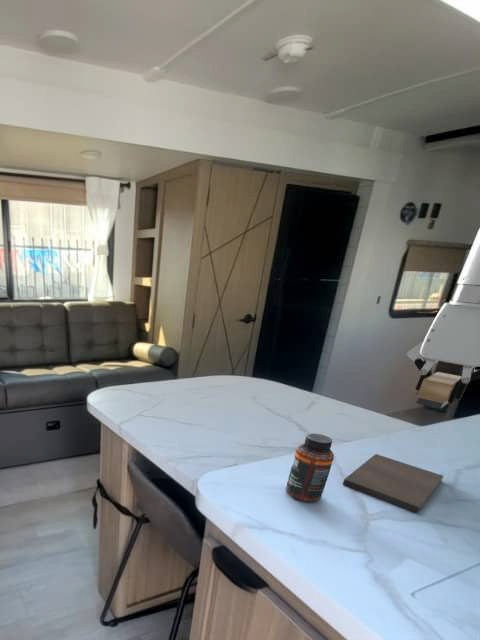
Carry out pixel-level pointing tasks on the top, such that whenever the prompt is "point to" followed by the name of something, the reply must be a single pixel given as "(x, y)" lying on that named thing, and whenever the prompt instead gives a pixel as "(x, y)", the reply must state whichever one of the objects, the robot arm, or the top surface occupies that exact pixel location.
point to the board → (394, 482)
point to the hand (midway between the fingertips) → (436, 397)
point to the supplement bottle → (310, 468)
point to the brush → (437, 389)
